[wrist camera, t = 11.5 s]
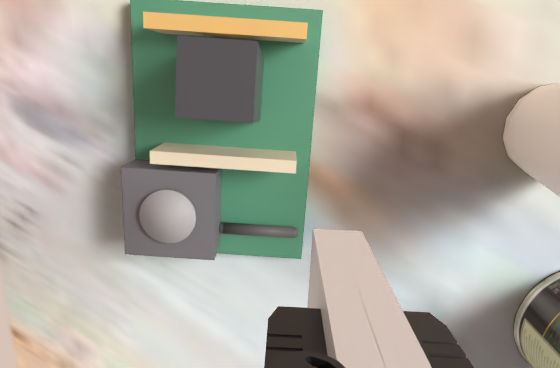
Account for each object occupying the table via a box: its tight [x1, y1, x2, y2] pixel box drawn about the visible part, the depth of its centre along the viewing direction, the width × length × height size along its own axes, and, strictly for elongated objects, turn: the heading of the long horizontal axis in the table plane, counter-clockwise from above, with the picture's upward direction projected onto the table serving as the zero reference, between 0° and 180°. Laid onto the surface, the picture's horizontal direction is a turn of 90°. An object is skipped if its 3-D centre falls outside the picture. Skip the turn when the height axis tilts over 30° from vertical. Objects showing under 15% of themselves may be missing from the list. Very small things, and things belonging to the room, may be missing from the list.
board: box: [121, 0, 323, 260], centre depth 26 cm, size 17×12×5 cm
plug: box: [175, 36, 264, 123], centre depth 23 cm, size 4×4×6 cm
